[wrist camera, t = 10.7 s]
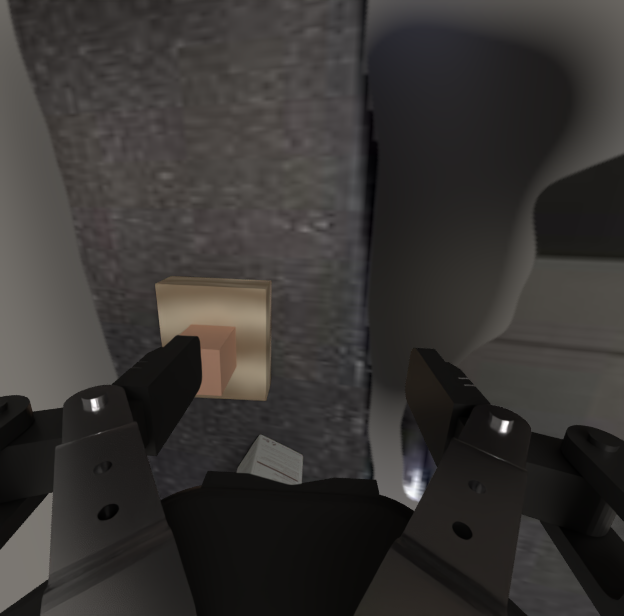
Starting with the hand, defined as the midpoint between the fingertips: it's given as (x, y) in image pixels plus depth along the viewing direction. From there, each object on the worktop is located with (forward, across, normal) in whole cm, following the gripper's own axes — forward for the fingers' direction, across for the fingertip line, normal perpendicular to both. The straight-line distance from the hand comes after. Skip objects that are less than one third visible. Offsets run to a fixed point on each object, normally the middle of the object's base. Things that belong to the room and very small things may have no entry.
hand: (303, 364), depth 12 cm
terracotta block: (+22, +11, +10) cm, 27 cm away
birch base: (+26, +11, +10) cm, 30 cm away
